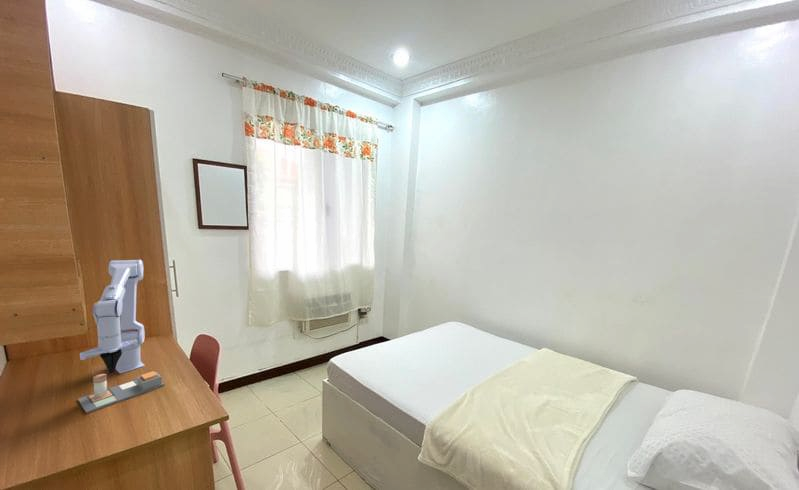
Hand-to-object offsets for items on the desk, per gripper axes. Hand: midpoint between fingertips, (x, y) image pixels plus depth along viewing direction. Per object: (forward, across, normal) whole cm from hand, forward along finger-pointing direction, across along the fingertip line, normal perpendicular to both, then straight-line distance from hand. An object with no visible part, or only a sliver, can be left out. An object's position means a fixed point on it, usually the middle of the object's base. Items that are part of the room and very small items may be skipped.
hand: (111, 372), depth 109 cm
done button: (+6, +10, -3) cm, 12 cm away
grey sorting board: (+8, +3, -1) cm, 9 cm away
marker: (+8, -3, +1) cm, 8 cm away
